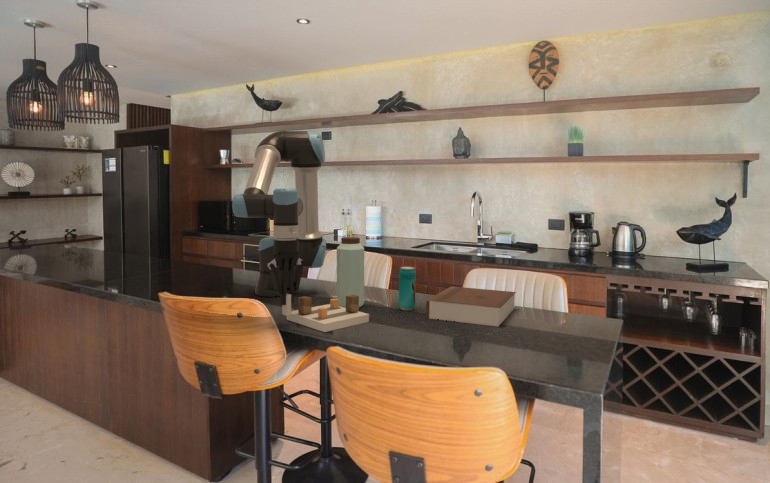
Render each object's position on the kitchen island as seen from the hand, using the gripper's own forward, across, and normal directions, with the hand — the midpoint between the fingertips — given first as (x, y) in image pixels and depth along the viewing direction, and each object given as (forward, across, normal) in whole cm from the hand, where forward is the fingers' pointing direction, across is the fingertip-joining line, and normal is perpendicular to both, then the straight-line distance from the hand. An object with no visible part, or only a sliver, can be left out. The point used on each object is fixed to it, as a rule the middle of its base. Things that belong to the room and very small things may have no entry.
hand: (286, 314), depth 159 cm
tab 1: (+1, +7, 0) cm, 7 cm away
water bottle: (+4, +32, +7) cm, 33 cm away
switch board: (+3, +13, -4) cm, 14 cm away
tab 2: (+1, +20, -8) cm, 21 cm away
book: (+4, +57, -29) cm, 64 cm away
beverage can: (+4, +44, -10) cm, 45 cm away
